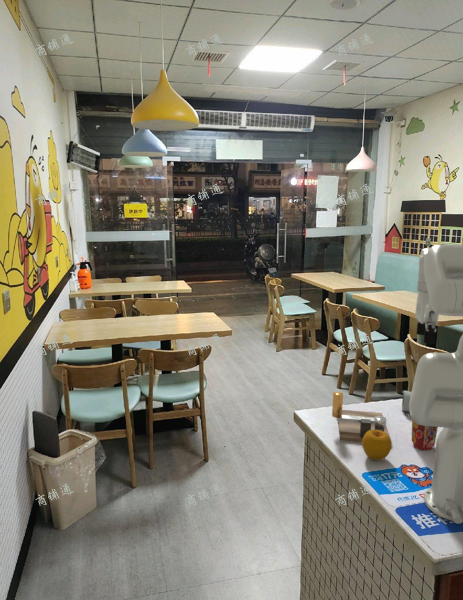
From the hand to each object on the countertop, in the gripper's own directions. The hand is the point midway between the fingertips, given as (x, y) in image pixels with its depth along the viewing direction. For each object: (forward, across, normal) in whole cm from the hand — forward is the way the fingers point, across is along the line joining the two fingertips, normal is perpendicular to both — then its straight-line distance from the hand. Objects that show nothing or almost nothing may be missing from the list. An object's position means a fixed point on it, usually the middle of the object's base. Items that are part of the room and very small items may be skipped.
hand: (425, 338), depth 140 cm
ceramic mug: (+34, -18, +2) cm, 38 cm away
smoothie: (+34, +9, 0) cm, 35 cm away
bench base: (+33, 0, -18) cm, 38 cm away
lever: (+29, +5, -20) cm, 35 cm away
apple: (+34, +19, -16) cm, 42 cm away
